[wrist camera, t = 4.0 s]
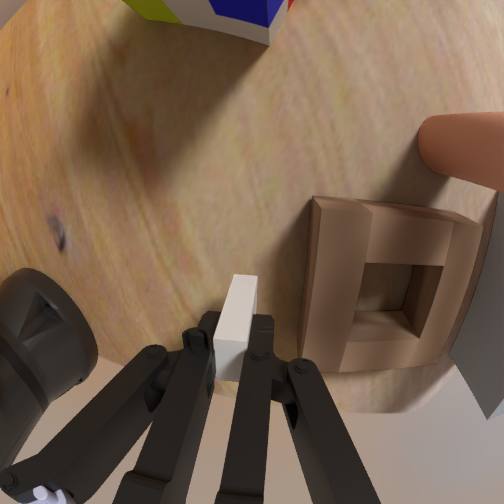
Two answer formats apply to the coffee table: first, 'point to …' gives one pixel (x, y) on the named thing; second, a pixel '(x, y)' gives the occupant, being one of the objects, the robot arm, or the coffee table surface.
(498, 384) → the board
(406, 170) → the coffee table surface
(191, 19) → the puzzle toy
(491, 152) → the dowel
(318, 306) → the block
